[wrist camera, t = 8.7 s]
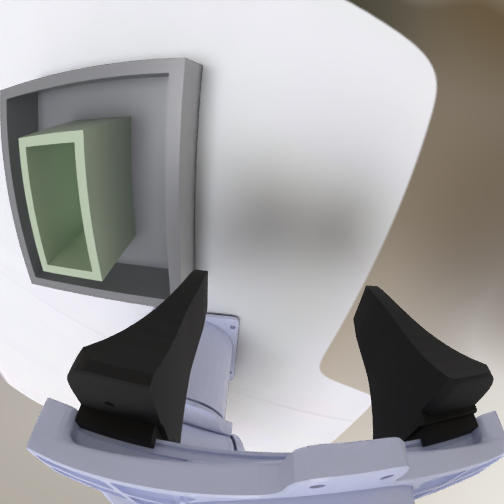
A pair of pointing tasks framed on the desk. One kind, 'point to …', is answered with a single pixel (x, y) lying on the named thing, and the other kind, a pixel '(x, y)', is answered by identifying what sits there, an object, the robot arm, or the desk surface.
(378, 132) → the desk surface
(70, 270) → the sage crate
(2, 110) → the charcoal crate
